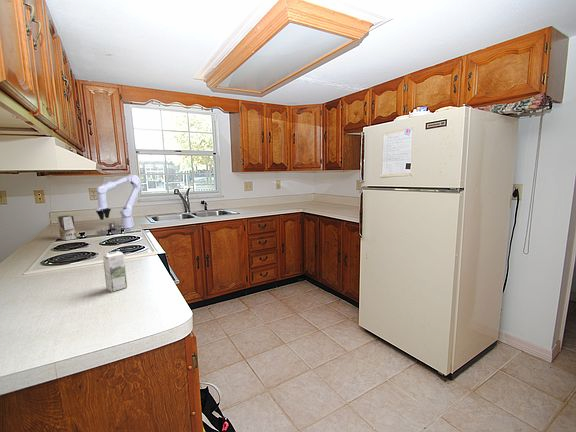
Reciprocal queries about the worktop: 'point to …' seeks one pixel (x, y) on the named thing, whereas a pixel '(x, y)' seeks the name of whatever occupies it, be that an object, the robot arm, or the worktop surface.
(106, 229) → the upper end link
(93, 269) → the worktop surface
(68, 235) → the coffee box
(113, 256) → the syrup box
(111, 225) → the pin
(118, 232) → the lower end link
